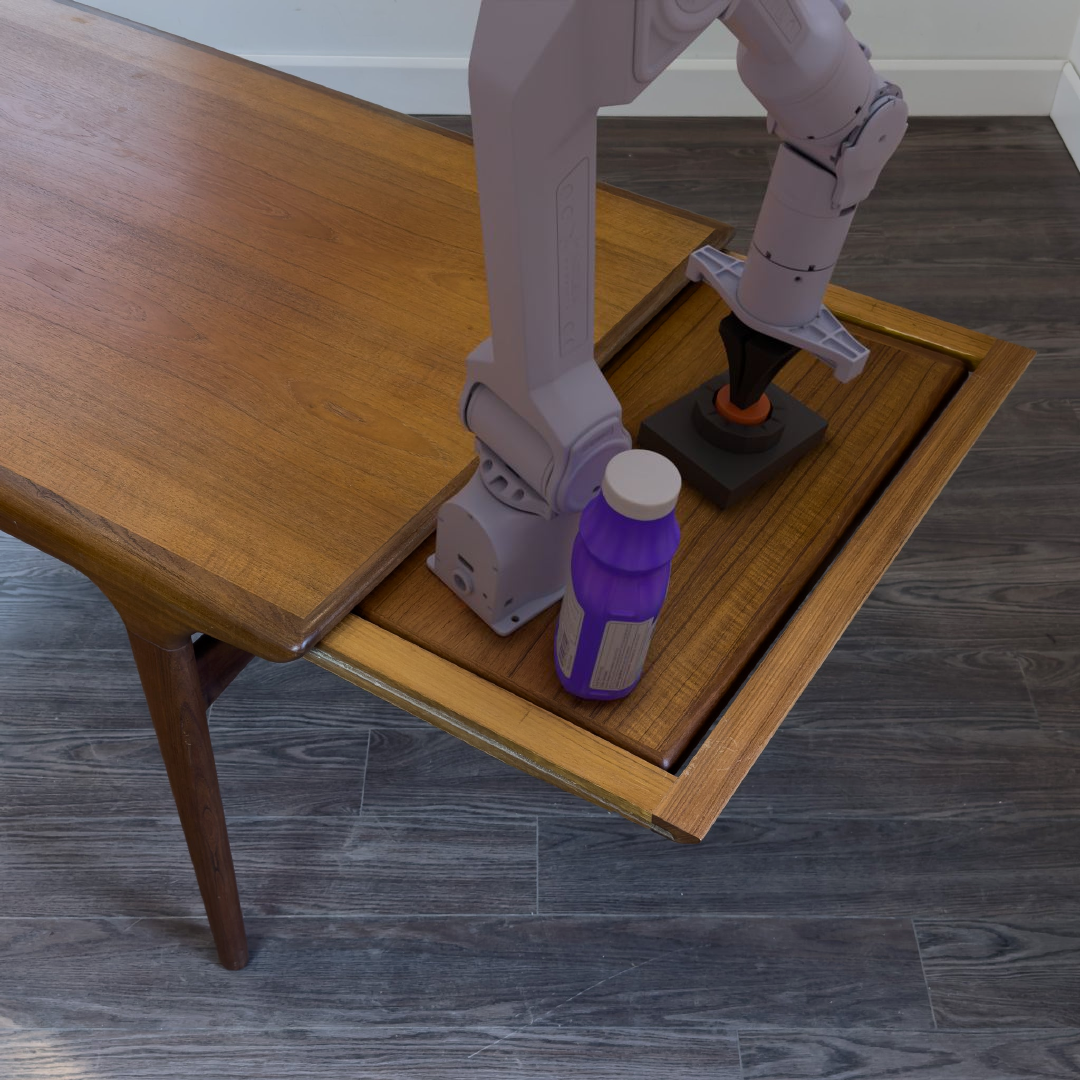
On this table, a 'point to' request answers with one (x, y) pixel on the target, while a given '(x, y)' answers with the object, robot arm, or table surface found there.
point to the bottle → (618, 576)
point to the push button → (743, 417)
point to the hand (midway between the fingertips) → (744, 400)
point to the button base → (730, 440)
